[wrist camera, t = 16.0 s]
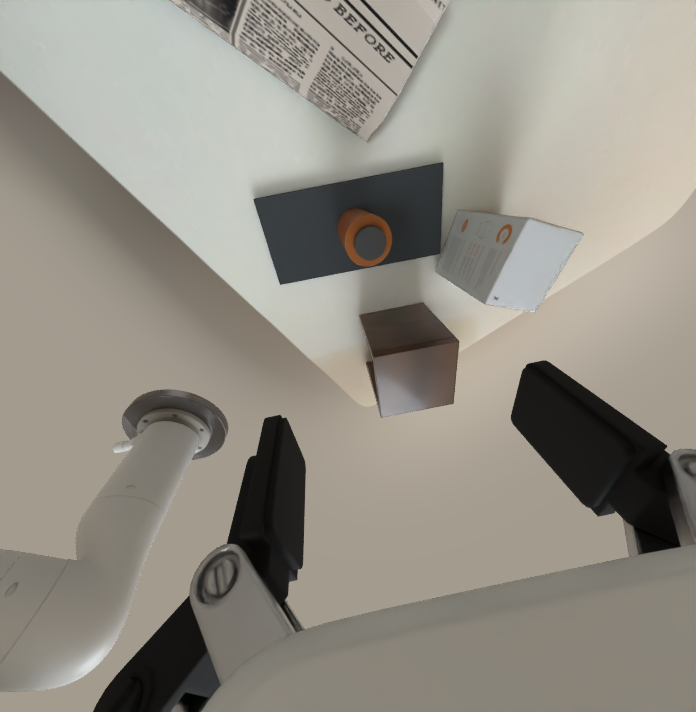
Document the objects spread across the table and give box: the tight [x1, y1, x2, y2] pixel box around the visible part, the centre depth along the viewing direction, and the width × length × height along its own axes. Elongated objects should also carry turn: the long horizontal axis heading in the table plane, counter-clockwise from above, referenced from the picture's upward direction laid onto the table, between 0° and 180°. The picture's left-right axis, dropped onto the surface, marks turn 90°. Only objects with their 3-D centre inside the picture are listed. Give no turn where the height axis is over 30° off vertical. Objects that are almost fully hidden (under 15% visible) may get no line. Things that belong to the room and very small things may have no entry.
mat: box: [254, 163, 443, 285], centre depth 32 cm, size 22×10×1 cm, turn 99°
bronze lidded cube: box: [359, 303, 459, 417], centre depth 37 cm, size 10×10×12 cm
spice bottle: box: [337, 208, 392, 266], centre depth 27 cm, size 4×4×11 cm
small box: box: [435, 210, 584, 313], centre depth 30 cm, size 8×6×13 cm
